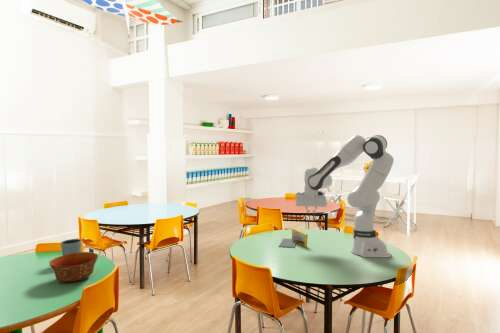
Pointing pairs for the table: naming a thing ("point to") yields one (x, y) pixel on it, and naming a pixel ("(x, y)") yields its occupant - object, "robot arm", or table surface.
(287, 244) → the mat
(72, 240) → the grey cylinder
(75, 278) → the bowl
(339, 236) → the table surface
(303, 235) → the candy box
